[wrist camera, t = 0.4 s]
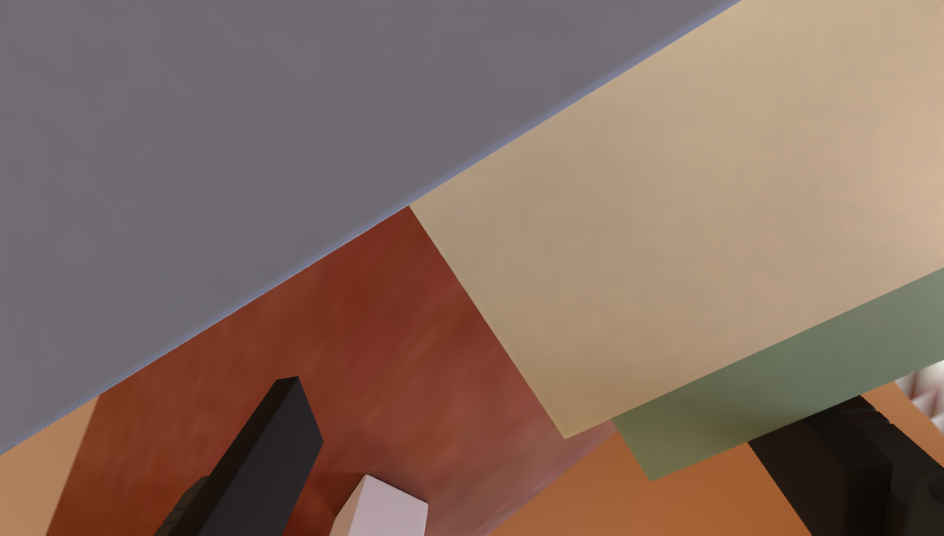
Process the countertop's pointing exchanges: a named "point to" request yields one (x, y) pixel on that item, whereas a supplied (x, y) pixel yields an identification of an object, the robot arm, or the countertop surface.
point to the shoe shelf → (720, 228)
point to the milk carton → (380, 512)
